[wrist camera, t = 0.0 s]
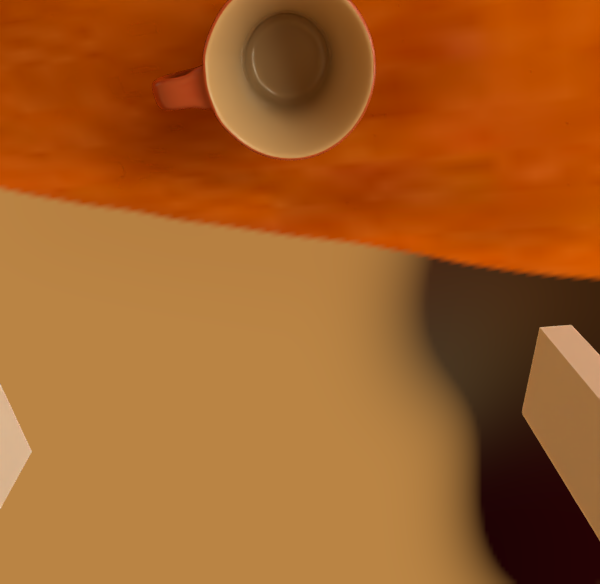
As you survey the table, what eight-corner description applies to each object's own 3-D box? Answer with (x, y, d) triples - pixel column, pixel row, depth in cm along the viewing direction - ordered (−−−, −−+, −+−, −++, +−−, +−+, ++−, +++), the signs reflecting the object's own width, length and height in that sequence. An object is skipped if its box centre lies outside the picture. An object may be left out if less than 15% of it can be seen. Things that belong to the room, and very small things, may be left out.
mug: (341, -30, 32) (367, -45, 23) (356, 112, 36) (382, 145, 27) (158, 5, 32) (114, 4, 23) (194, 141, 37) (168, 183, 28)
